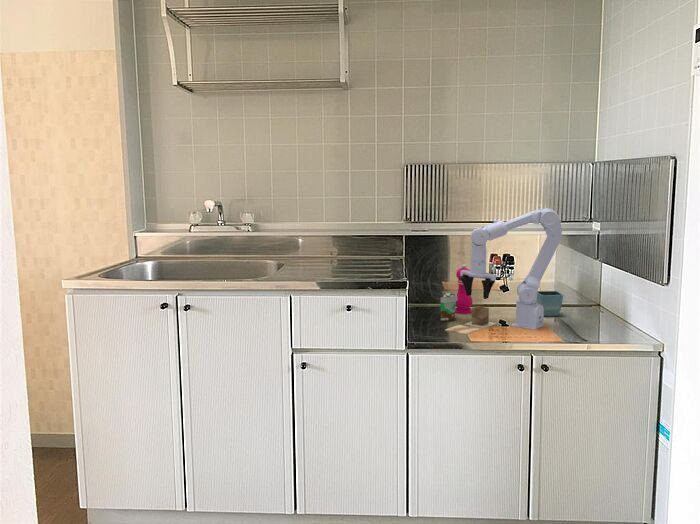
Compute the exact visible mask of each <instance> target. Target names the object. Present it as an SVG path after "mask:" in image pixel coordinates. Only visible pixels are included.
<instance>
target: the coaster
mask: <svg viewBox="0 0 700 524" xmlns="http://www.w3.org/2000/svg"><path fill="white" fill-rule="evenodd" d="M444 329H445V328H444ZM480 330H481V328H480V327H475V326H469V325H464V324H463V325H462V324H457V325H455V326H450V327H449V328H448V327H447V328H446V329H445V331H446V332H451V333H455V334H460V335H465V336H466V335H470V334H473V333H476V332H477V331H480Z"/></svg>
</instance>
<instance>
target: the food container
mask: <svg viewBox="0 0 700 524" xmlns="http://www.w3.org/2000/svg"><path fill="white" fill-rule="evenodd" d="M457 300H458V299H457V293H455V292H452V291H442V295H441V296H440V322H441V323H442V322H451V321H455V317H456V316H455V315H456V312H455V309H456V308H457V306H456V301H457Z"/></svg>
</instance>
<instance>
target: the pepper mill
mask: <svg viewBox="0 0 700 524" xmlns="http://www.w3.org/2000/svg"><path fill="white" fill-rule="evenodd" d="M462 270H466V271H470V269H469V268H467V265H466V264H465V263H463V264H461V267H460V268H459V269H457V270H456V278H457V280H456V281H457V284H458V290H457V293H456V295H457V299H458V300H457V301H456V307H455V314H458V315H469V314H472V308H471V307H472V305H473V298H472V294H471V295H470V296H467V295H466V291H465V287H464V284H463V282H462V281H461V277H463V276H460V271H462Z"/></svg>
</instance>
